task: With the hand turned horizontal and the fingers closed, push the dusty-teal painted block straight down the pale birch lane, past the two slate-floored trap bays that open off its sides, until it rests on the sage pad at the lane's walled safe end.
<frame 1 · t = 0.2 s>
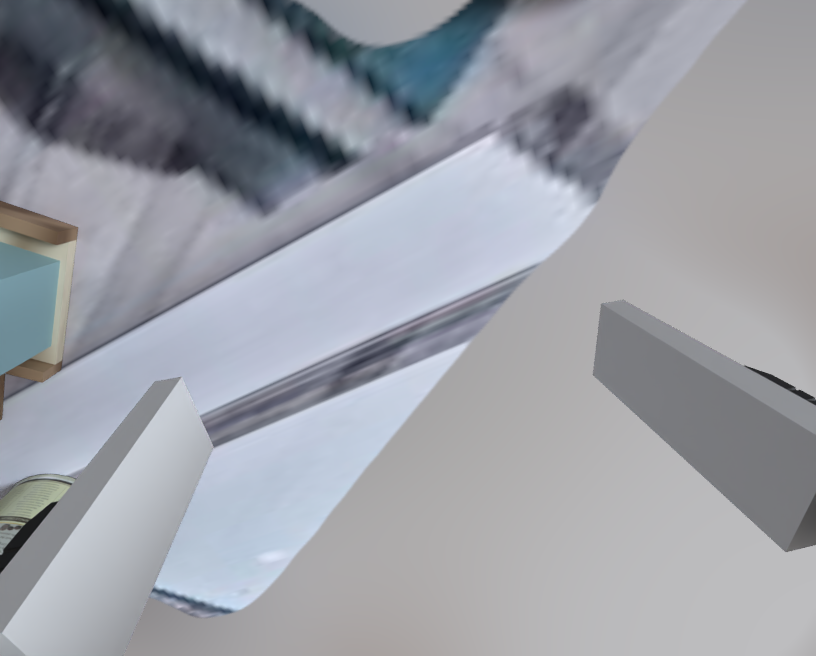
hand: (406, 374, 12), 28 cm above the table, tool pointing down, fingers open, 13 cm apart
coffee can: (60, 504, 46), on the table
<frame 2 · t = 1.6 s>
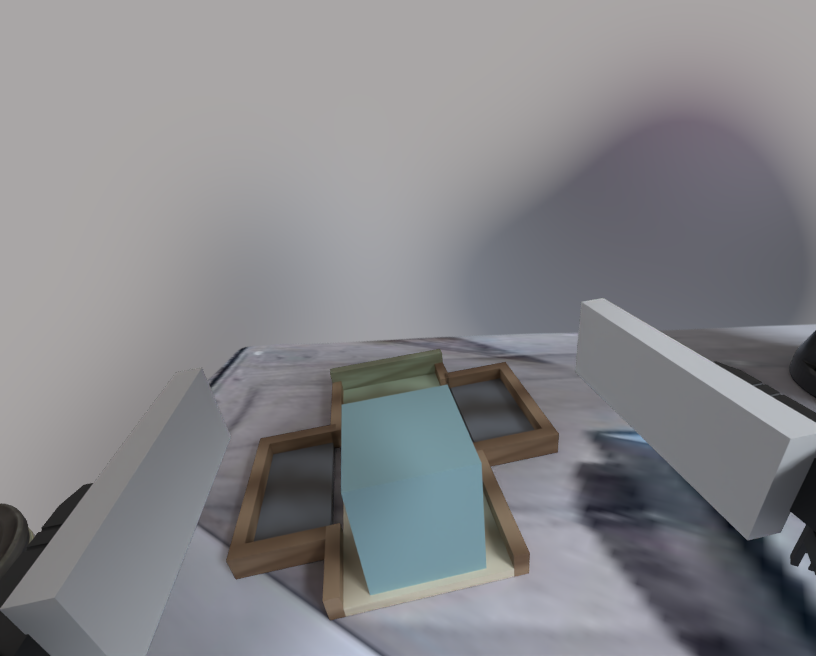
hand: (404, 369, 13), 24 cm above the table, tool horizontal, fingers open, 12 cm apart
trap lane: (405, 460, 41), on the table
teal block: (418, 528, 33), point 1 cm above the table, touching trap lane
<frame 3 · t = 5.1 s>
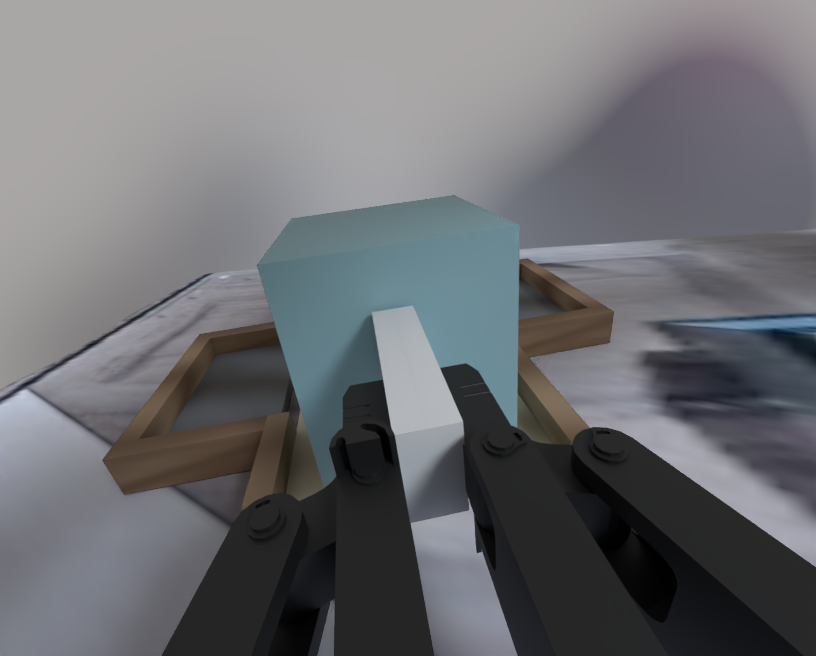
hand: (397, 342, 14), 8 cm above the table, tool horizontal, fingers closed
trap lane: (395, 357, 30), on the table
teal block: (409, 416, 22), point 1 cm above the table, touching gripper, trap lane
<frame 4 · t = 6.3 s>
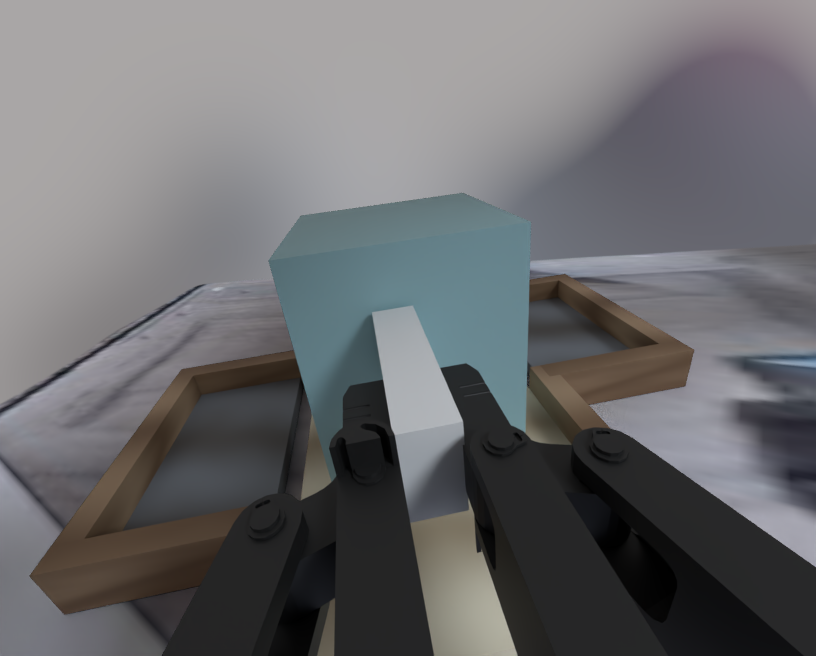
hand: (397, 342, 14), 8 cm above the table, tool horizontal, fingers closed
trap lane: (418, 401, 24), on the table
teal block: (416, 414, 22), point 1 cm above the table
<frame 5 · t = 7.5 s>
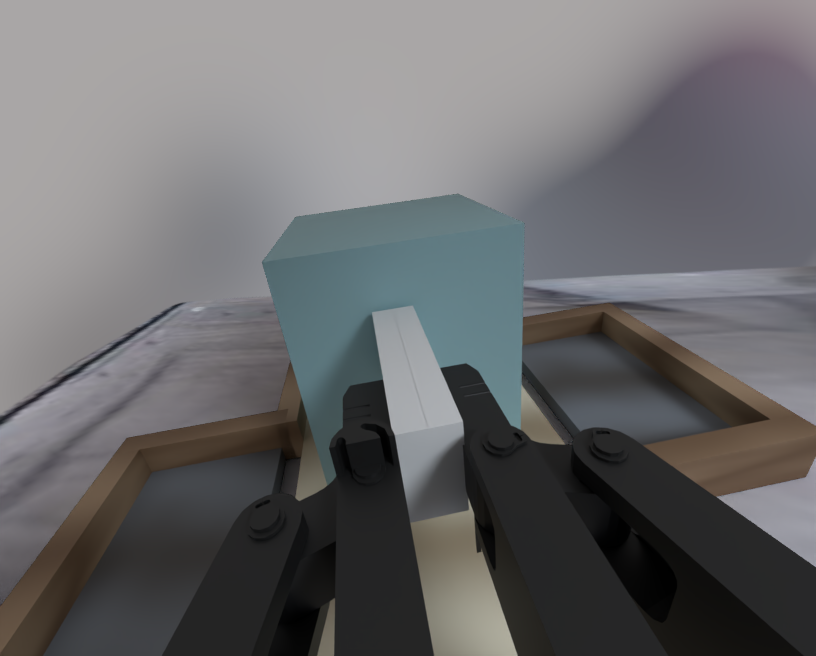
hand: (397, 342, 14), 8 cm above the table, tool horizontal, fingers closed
trap lane: (437, 490, 18), on the table
teal block: (412, 415, 22), point 1 cm above the table
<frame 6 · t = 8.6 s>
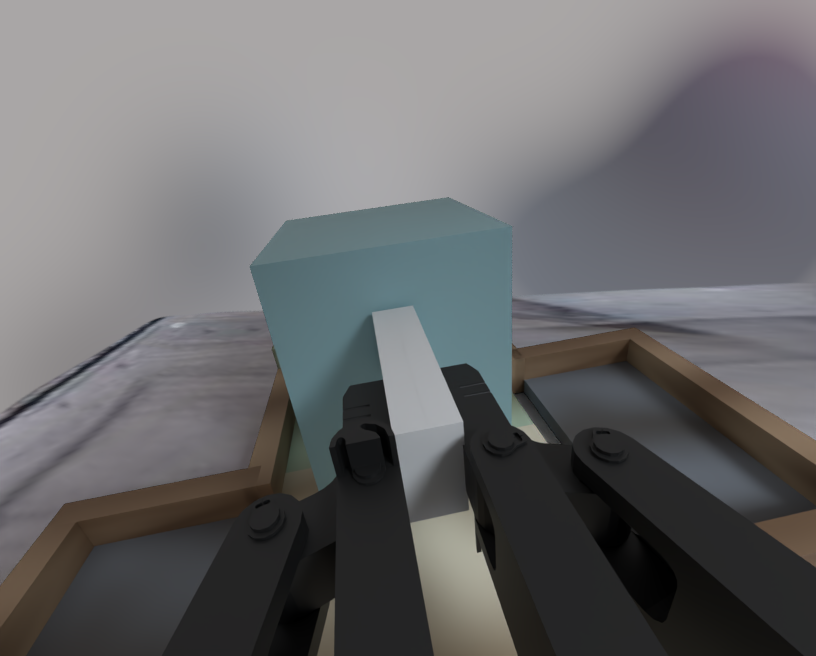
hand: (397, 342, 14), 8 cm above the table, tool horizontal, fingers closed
trap lane: (440, 577, 15), on the table
teal block: (404, 418, 22), point 1 cm above the table, touching trap lane
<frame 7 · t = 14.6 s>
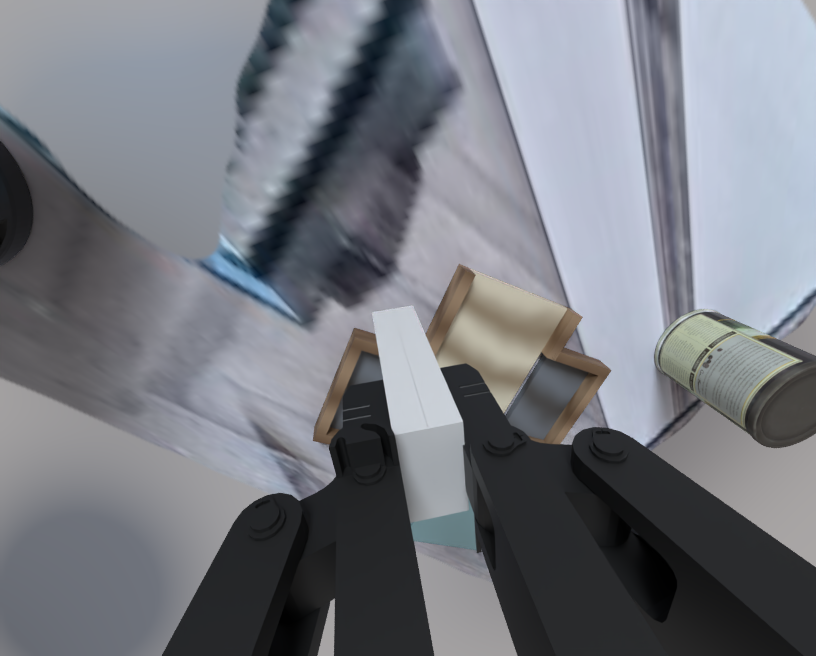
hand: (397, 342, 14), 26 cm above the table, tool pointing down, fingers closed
coffee can: (688, 343, 51), on the table
trap lane: (463, 386, 48), on the table
teal block: (436, 444, 50), point 1 cm above the table, touching trap lane
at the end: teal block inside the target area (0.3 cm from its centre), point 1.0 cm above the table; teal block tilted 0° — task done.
